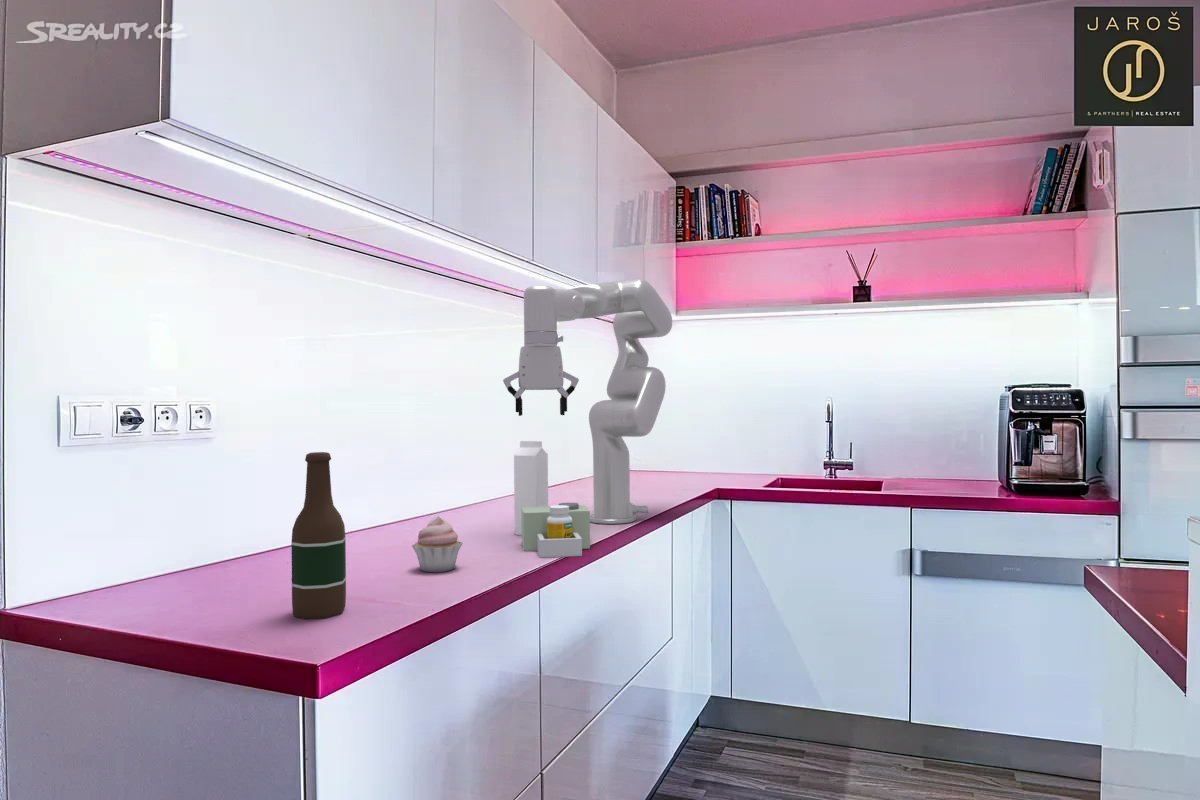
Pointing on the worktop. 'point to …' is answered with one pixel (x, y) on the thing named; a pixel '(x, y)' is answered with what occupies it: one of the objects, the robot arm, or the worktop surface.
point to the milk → (529, 479)
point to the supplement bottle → (559, 523)
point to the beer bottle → (318, 547)
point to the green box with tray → (537, 539)
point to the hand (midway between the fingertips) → (541, 415)
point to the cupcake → (437, 546)
